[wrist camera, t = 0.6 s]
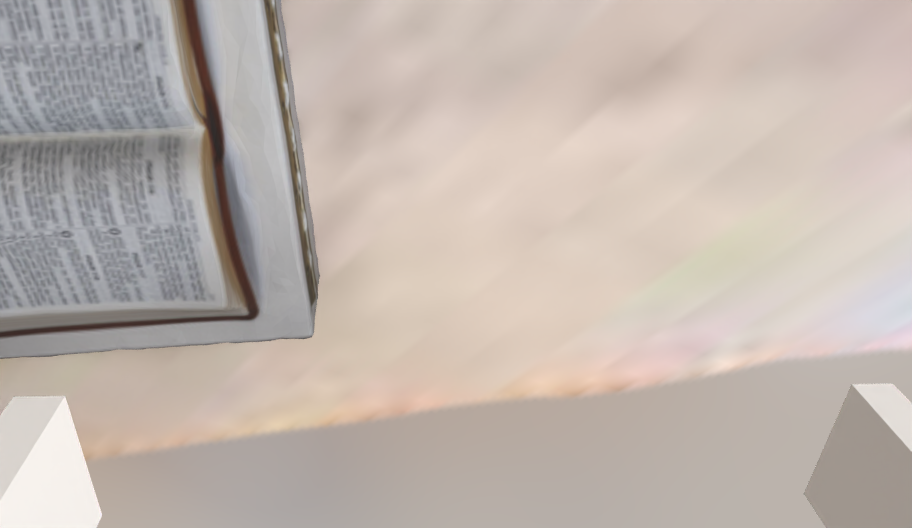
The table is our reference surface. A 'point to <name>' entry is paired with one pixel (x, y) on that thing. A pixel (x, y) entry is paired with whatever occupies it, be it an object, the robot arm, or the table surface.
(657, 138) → the table surface
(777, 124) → the table surface
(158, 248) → the bible
